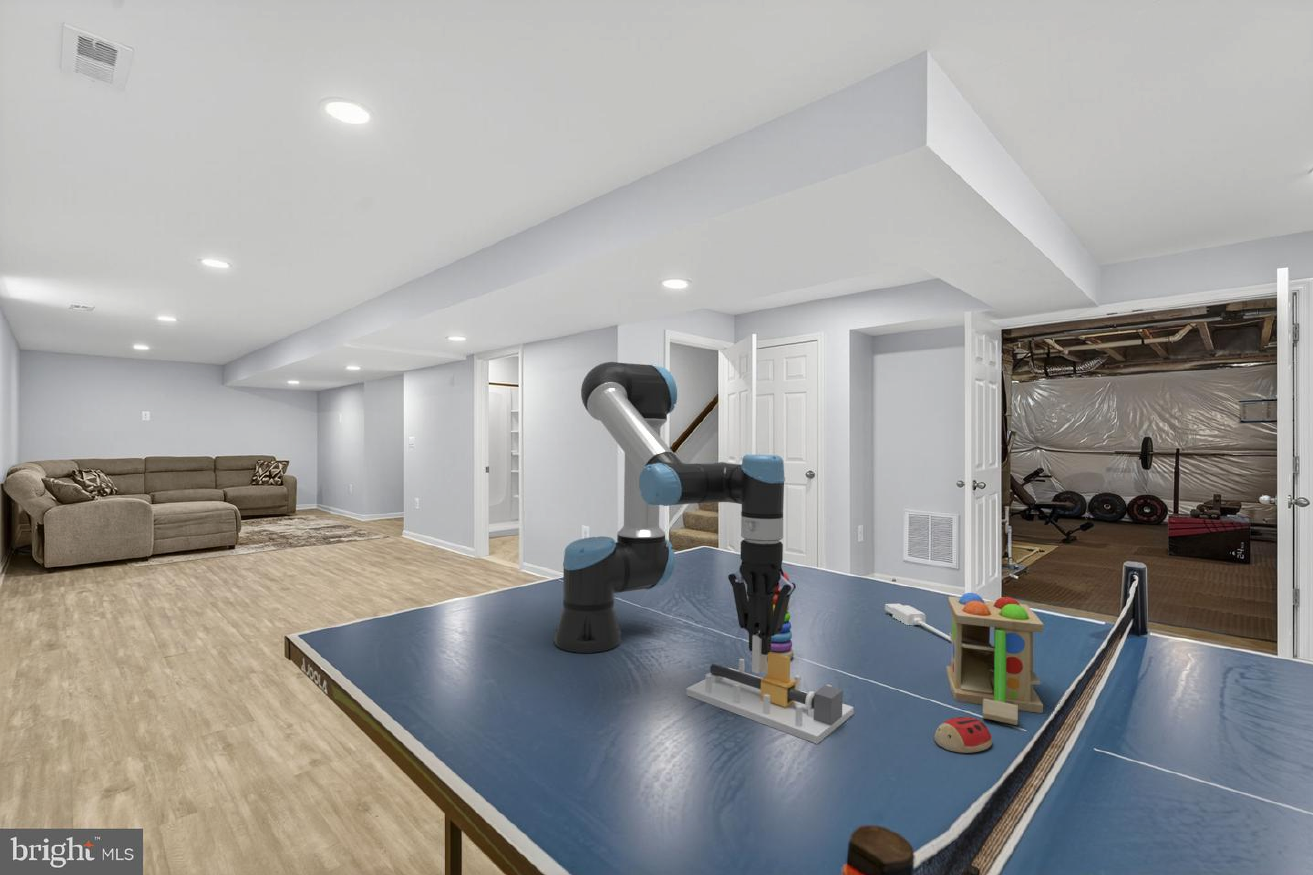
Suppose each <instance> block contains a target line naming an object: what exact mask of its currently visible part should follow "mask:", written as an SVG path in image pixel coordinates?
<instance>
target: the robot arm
mask: <svg viewBox="0 0 1313 875" xmlns="http://www.w3.org/2000/svg"><path fill="white" fill-rule="evenodd" d="M674 378H675V377H674V376H673V375H672V374H671V372H670V371H669V370H668V369H666V368H665V367H663V366H657V365H653V364H641V363H627V362H626V363H625V362H617V361H607V362H603V363H600V364H598V365H596V366H594V367H592V369H591V370H590V371H588V373H587V374H586V375H585V377H584V379H583V381H582V383H581V384H582V385H581V389H580V395H581V397H580V398H581V400H582V404H583V406H584V409H586V411H587V413H588V414H589V415H590V416H591V417H592V418H593V419H594V420H597V421H600V422H601V424H603V426H604V427H605V429H606V430H607V431H608V433H609V434H610V435H611V436H612V438H613V439H614V441H615V442H616V443H617V445H618V446H619V447H620V449H621V450H622V451H623V453H624V476H623V478H624V480H623V481H624V486H623V488H624V489H623V526H622V528H621V529H620V530H618V531H617V534H616V535H617V539H616V540H615V539H614V538H613V537H611V536H601V535H600V536H591V537H585V538H580V539H577V540H574V541H571V542H570V543H569V544H567V546H566V547H565V549H564V556H563V562H562V567H563V574H562V576H563V578H562V579H563V584H562V585H563V586H562V589H563V590H562V591H563V592H562V593H563V594H562V595H563V596H562V597H563V598H562V611H561V613H560V618H559V621H558V625H557V627H556V628H555V631H554V645H555V646H556V647H557V648H559V649H561V650H564V651H566V652H573V653H579V654H580V653H581V654H585V653H587V654H589V653H590V654H591V653H601V652H605V651H610V650H612V649H614V648H616V647H618V646H619V645H621V641H622V631H621V628H620V626H619V621H618V619H617V614H616V611H615V604H614V603H615V594H618V593H625V592H632V591H641V590H651V589H654V588H658V587H661V586H664V585H665V584H667V583H668V581H669V580H670V579H671V578H672V576H673V573H674V570H675V564H676V555H675V550H673V548H674V547H673V545H672V543H671V541H669V539H666V532H665V531H664V530H663V529H662V528H661V527H660V506H662V507H667V506H669V507H670V506H677V505H692V504H714V503H729V504H730V503H731V504H737V505H738V504H739V505H741V512H740V515H741V517H740V518H741V520H740V522H741V523H740V529H741V530H740V531H741V532H740V536H741V538H743V539H742V540H741V541H740V561H741V564H740V566H739V570H738V571H736V572H734V573H730V574H729V575H728V576H727V578H728V580H729V583H730V585H731V587H732V592H733V598H734V603H735V609H736V614H737V621H738V625H739V627H740V629H744V630H746V631H747V633H748V651H750V652H752V653H751V658H752V659H751V672H752V673H755V674H758V675H760V674H762V673H763V672H766V670H767V667H768V660H767V654H768V652H771V637H772V636H774V635H776V634H779V633H781V631H782V627H783V623H784V619H785V615H786V611H787V607H788V605H789V603H790V598H791V595H792V594H793V592H794V591H795V590H796V589H797V588H796V586H797V585H796V584H795V582H790V581H789V582H788V581H787V580H786V579H785V578H784V573H785V572H784V571H783V567H782V565H783V562H784V560H783V558H784V557H783V556H784V555H783V554H784V553H783V552H784V543H782V541H781V540H783V538H784V503H785V502H784V500H785V499H784V498H785V497H784V496H785V495H784V494H785V492H784V491H785V482H786V477H785V466H784V464H785V463H784V459H783V458H782V456H780V455H777V454H776V455H775V454H745V455H743V456H742V462H741V464H739V463H737V464H736V463H728V462H723V461H720V462H718V461H717V462H709V463H708V462H707V463H684V462H682V460H681V459H680V458H679V457H678V456H677V455H676V454H675V453H674V452H673V450H672V449H671V448H670V447H669V446H668V444H667V443H666V442H665V441H664V440H663V439H662V438H661V429H662V426H663V425H664V424H665V423H667V421H668V414H671V413H672V412H673V411H674V409H675V407H676V406H675V405H677V401H678V388H677V384H676V381H675V379H674ZM783 572H784V573H783ZM778 584H780V586H779V588H778V590H779V591H780V592H779V594H778V596H777V600H776V604H775V609H774V613H773V597H774V595H775V588H776V587H777V586H778Z"/></svg>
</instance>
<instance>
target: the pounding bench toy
mask: <svg viewBox="0 0 1313 875" xmlns="http://www.w3.org/2000/svg"><path fill="white" fill-rule="evenodd" d="M947 602H948V607H949V609H950V612H951V631H950V632H949V634H948V636H950V639H951V641H950V642H951V649H950V650H951V652H950V653H951V656H950V659H951V662H950V663H951V664H950V665H946V676H947V680H948V683H949V687H950V690H951V693H952V697H953V699H954V701H956V702H962V703H966V704H967V703H968V704H969V703H970V704H973V705H974V704H975V705H981V704H982V705H981V706H982V718H983V719H985V720H989V721H996V722H1000V723H1004V724H1010V725H1013V726H1018V724H1019V723H1018V721H1019V711H1023V712H1031V713H1037V714H1044V713H1043V712H1044V704H1043V702H1042V700H1041V699H1040V697H1039V695H1038V694H1037V693H1036V691H1035V690H1034V685H1041V684H1042V683H1041V681H1040V679H1039V678H1038V676H1037V674H1036V672H1035V671H1034V633H1044V623H1043V622H1042V620H1041V619H1040V618H1039V617H1038V616H1037V614H1036V613H1035V612H1034V611H1033V610H1032V609H1031V608H1030V606H1029V605H1027V604H1025V603H1024V604H1023V603H1020V602H1019V601H1017V600H1016V599H1015V598H1013V597H1010V596H1001V597H999V598H998V599H996V601H992V600H984V599H983V598H982V596H980V595H979V594H977V593H974V592H967V593H963V595H962V596H960V597H957V596H948V599H947ZM991 628H994V630H993V631H994V634H993V636H994V641H993V642H994V645H993V644H992V643H991V642H990V641H991V640H990V639H991Z"/></svg>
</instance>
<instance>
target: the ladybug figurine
mask: <svg viewBox="0 0 1313 875" xmlns="http://www.w3.org/2000/svg"><path fill="white" fill-rule="evenodd" d="M934 742H935V743H936V744H937V745H938V746H939V747H941V748H943V749H945V750H947V751H949V752H955V753H961V754H962V753H963V754H971V753H979V752H982V751H985V750H987V749H989V748H990V747H991V746H992V744H993V738H992V734H991V732H990V730H989V728H988V726H986V724H984V723H983V721H982V720H980V719H977V718H974V717H970V716H969V717H967V716H964V717H962V716H961V717H959V716H958V717H954V718H950V719H947V720H945V721H943V722H942V723H941V724H940V725H938V727H937V729H936V731H935V732H934Z"/></svg>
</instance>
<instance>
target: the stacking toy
mask: <svg viewBox="0 0 1313 875" xmlns="http://www.w3.org/2000/svg"><path fill="white" fill-rule="evenodd" d="M783 573H784V578H785V579H786V580H787V581H788V582H790V579H789V576H788V575H787V574H786V573H785V571H783ZM779 586H780V584H778V586H777V587H776V588H775V595H774V597H773V613H774V609H775V604H776V600H777V596H778V594H779V592H780V591H779V590H778V588H779ZM789 609H790V605H789V604H788V607H787V611H786V615H785V619H784V623H783V627H782V631H781V633H779V634H776V635H774V636H772V637H771V652H774V653H778V654H781V655H785V656H788V657H790V660H791V659H793V657H794V655H795V654H794V650H793V641H792V640H791V639H792V638H793V633H792V631H791V629H792V624H791V621H790V619H791V614H790V612H789ZM767 661H768V654H767Z"/></svg>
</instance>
